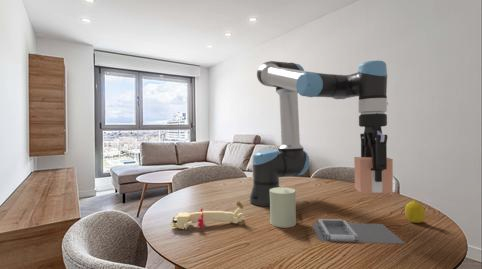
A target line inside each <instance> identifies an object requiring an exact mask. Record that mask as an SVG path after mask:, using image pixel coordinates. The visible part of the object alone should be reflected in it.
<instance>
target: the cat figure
mask: <svg viewBox="0 0 482 269" xmlns="http://www.w3.org/2000/svg"><path fill="white" fill-rule="evenodd" d="M235 205H236V206H237V208H236V209H235V210H234V211H225V210H203V207H201V208H200V211H194V212H190V213H189V212H188V211H187V212H185V211H184V212H178V213H177V215H175V216H174V217H173V218H172V222H170V226H172V228H173V227H178V228H177V229H181V230H188V228H189V227H190V225H192V224H196V223H198V224H197V226H198V227H199V228H200V229H201V228H202V229H201V230H203V228H204V227H203V225H204V223H206V222H224V223H227V222H228V223H232V224H238V223H239V222H240V225H245V223H246V222H245V216H244V215H243V212H241V211H242V210H243V209H244V206H243V203H242V202H241V201H239V200H238V201H236V203H235ZM239 212H240V213H239ZM184 228H185V229H184Z"/></svg>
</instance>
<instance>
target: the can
mask: <svg viewBox="0 0 482 269" xmlns="http://www.w3.org/2000/svg"><path fill="white" fill-rule="evenodd" d="M269 191H270V206H269V215H270V216H269V223H270V225H271V224H272V225H271V226H272V227H277V228H283V229H284V228H286V229H288V228H294V227H295V226H296V225H297V215H296V214H297V211H296V210H297V209H296V206H297V204H296V194H297V193H296V191H297V190H296V189H294V188H291V187H285V186H284V187H283V186H281V187H277V188H272V189H270V190H269Z"/></svg>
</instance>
